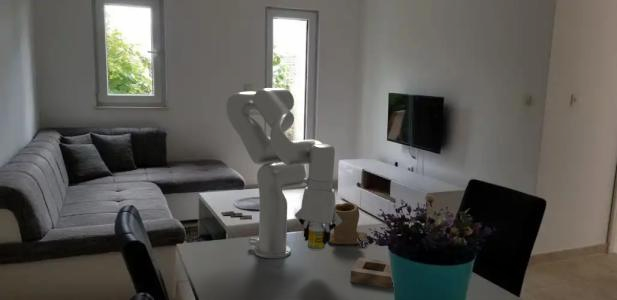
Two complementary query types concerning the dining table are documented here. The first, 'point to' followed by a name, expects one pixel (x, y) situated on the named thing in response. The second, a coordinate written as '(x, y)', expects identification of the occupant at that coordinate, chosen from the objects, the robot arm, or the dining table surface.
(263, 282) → the dining table surface
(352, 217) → the brown hollow tube piece
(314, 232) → the supplement bottle
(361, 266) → the bottle holder
